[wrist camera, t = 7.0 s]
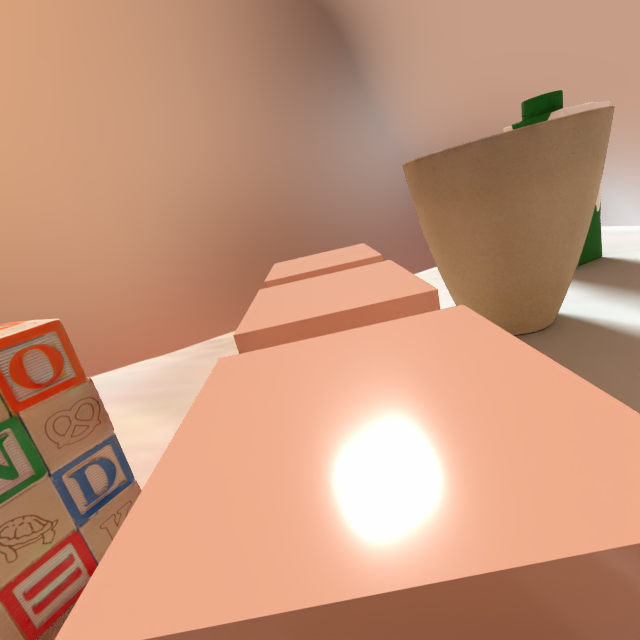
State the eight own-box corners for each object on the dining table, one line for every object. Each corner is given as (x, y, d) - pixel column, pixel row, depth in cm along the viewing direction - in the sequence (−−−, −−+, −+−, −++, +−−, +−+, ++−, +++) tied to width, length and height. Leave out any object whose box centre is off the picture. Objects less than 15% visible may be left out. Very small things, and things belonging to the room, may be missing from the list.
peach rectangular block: (312, 454, 21) (264, 282, 18) (311, 401, 27) (274, 263, 24) (412, 433, 21) (381, 254, 18) (389, 384, 27) (363, 243, 24)
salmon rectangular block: (315, 590, 14) (233, 335, 11) (312, 476, 20) (259, 289, 16) (470, 559, 14) (437, 289, 10) (421, 453, 20) (390, 259, 16)
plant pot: (460, 295, 43) (445, 156, 39) (617, 296, 33) (624, 107, 28) (397, 345, 34) (367, 168, 29) (592, 369, 23) (597, 100, 18)
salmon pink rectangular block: (323, 1052, 6) (43, 658, 3) (315, 642, 12) (219, 358, 9) (675, 1000, 6) (799, 511, 3) (493, 609, 12) (463, 304, 9)
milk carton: (504, 268, 50) (494, 112, 44) (549, 252, 52) (546, 103, 46) (566, 274, 42) (565, 84, 36) (616, 254, 44) (622, 74, 38)
